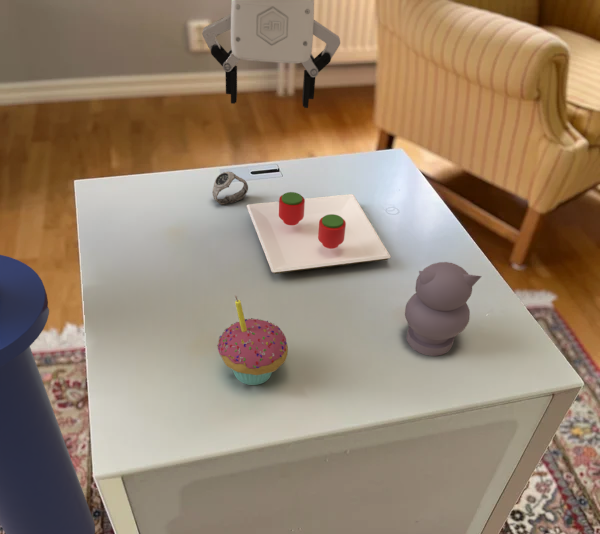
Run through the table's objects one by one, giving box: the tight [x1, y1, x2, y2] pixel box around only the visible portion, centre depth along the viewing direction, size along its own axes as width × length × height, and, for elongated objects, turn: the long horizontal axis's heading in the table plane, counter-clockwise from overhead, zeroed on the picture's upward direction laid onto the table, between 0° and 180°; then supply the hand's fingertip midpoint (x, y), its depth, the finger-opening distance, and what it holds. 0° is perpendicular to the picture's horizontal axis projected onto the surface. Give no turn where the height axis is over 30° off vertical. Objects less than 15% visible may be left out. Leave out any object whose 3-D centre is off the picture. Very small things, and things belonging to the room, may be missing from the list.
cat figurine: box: [404, 261, 482, 357], centre depth 83 cm, size 8×8×12 cm
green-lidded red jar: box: [278, 191, 306, 225], centre depth 100 cm, size 4×4×4 cm
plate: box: [246, 193, 392, 274], centre depth 101 cm, size 19×19×2 cm
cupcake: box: [217, 295, 289, 386], centre depth 77 cm, size 9×8×12 cm
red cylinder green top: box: [318, 214, 346, 249], centre depth 96 cm, size 4×4×4 cm
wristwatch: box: [211, 171, 249, 206], centre depth 107 cm, size 4×6×5 cm, turn 118°
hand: (269, 101), depth 86 cm, fingers open, 9 cm apart
